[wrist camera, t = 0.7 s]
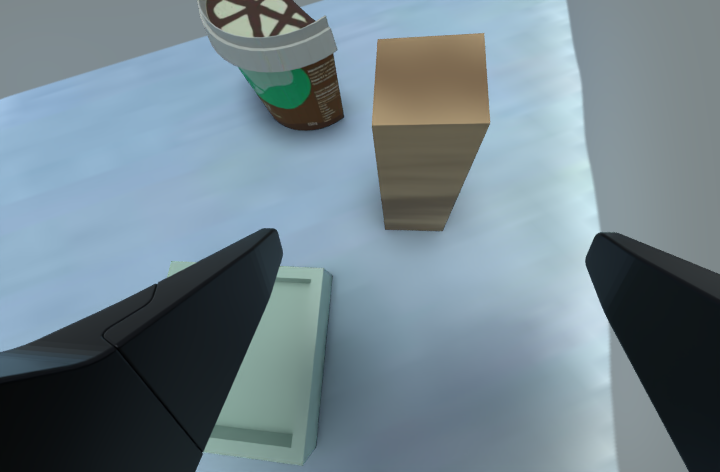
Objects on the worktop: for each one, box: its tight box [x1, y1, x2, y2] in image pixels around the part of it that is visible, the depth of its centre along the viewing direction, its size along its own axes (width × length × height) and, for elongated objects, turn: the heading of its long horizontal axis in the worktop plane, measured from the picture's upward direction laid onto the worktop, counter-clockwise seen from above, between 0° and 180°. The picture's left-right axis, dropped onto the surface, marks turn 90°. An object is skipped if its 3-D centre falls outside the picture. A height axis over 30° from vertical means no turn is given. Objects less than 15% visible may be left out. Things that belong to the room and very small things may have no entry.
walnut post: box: [372, 33, 490, 231], centre depth 19 cm, size 4×4×13 cm
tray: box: [167, 261, 332, 466], centre depth 21 cm, size 12×12×3 cm
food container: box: [197, 0, 344, 131], centre depth 25 cm, size 12×6×10 cm, turn 39°
